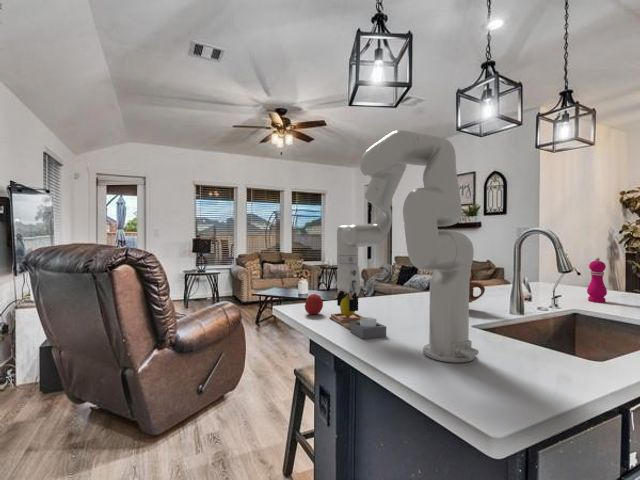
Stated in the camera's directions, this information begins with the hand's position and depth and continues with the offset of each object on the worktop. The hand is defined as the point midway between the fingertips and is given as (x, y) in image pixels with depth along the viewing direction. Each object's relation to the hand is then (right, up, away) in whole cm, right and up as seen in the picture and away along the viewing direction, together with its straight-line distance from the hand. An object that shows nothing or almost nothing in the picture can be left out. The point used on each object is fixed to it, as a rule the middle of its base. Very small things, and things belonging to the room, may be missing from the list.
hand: (347, 308), depth 130 cm
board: (+2, -4, -5) cm, 7 cm away
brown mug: (+47, -4, +18) cm, 50 cm away
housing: (+5, -5, -18) cm, 19 cm away
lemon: (0, -4, 0) cm, 4 cm away
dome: (+5, -4, -18) cm, 19 cm away
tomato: (-12, -4, +10) cm, 16 cm away
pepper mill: (+115, -4, +35) cm, 121 cm away
